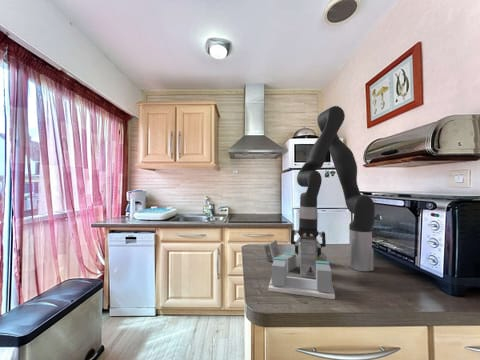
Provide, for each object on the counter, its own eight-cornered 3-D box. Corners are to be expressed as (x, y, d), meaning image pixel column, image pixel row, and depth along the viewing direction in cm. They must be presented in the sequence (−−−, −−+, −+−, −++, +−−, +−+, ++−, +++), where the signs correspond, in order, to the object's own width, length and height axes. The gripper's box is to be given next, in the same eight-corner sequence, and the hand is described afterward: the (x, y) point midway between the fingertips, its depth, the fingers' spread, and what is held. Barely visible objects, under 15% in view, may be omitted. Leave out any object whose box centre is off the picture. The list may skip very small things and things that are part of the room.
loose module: (295, 268, 107) (295, 253, 107) (287, 272, 102) (288, 257, 102) (286, 265, 110) (286, 251, 110) (278, 269, 105) (278, 255, 105)
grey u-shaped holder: (330, 284, 89) (330, 260, 89) (334, 299, 78) (334, 271, 78) (272, 277, 95) (273, 255, 95) (268, 290, 83) (268, 264, 84)
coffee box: (301, 269, 105) (301, 233, 106) (316, 271, 103) (316, 234, 104) (300, 276, 97) (300, 237, 97) (316, 278, 95) (316, 238, 95)
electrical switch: (274, 263, 113) (273, 243, 113) (264, 262, 115) (263, 243, 116) (281, 258, 121) (279, 240, 122) (271, 257, 123) (270, 239, 124)
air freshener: (304, 266, 109) (304, 244, 109) (301, 260, 117) (301, 240, 118) (328, 267, 108) (328, 245, 108) (324, 261, 116) (324, 241, 116)
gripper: (325, 217, 102) (324, 254, 102) (291, 215, 106) (291, 251, 106) (326, 219, 95) (326, 259, 95) (290, 217, 99) (290, 256, 99)
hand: (307, 255), depth 100 cm, fingers open, 8 cm apart
